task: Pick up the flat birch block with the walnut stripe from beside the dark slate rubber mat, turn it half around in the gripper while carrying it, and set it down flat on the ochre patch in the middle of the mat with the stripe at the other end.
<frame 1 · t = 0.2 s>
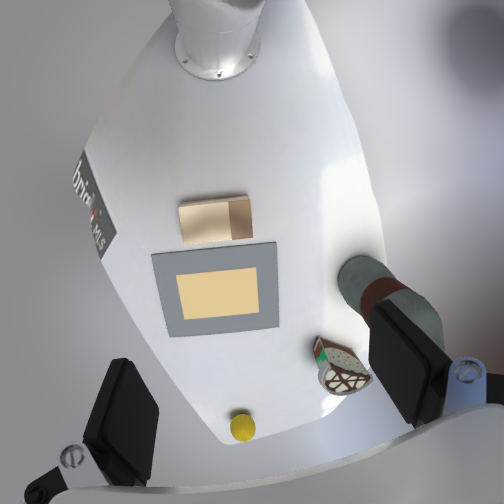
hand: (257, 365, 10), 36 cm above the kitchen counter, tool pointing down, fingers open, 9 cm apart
mat: (218, 293, 49), on the kitchen counter
food container: (326, 352, 56), on the kitchen counter
bottle: (357, 275, 51), on the kitchen counter
birch block: (216, 215, 45), on the kitchen counter
lemon: (241, 413, 60), on the kitchen counter
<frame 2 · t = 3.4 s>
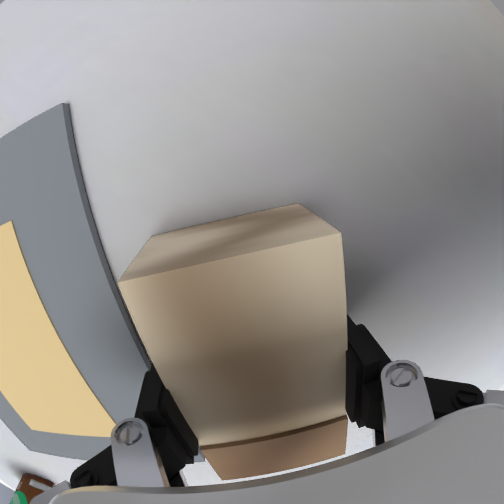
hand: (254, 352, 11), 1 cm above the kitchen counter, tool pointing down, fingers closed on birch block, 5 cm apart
mat: (19, 351, 11), on the kitchen counter
food container: (37, 483, 18), on the kitchen counter
birch block: (251, 333, 12), on the kitchen counter, touching gripper
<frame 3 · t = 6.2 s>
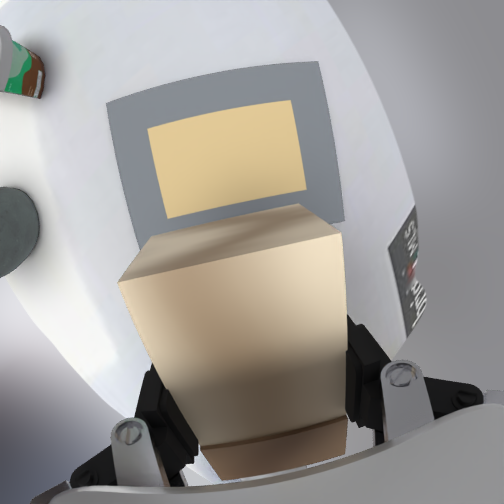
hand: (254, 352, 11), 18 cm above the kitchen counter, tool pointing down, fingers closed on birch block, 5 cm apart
mat: (227, 156, 25), on the kitchen counter
food container: (24, 68, 19), on the kitchen counter
bottle: (15, 222, 24), on the kitchen counter
birch block: (251, 333, 12), point 16 cm above the kitchen counter, touching gripper
when the fingers open (3 cm above the kitchen counter, at t = 9.1 s): birch block drops 1 cm, resting on mat.
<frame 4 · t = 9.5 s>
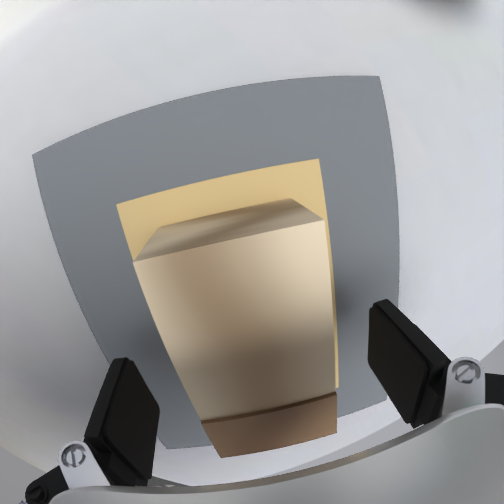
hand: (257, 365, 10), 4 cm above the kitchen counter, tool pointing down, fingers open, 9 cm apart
mat: (246, 312, 14), on the kitchen counter
birch block: (248, 317, 13), point 1 cm above the kitchen counter, touching mat
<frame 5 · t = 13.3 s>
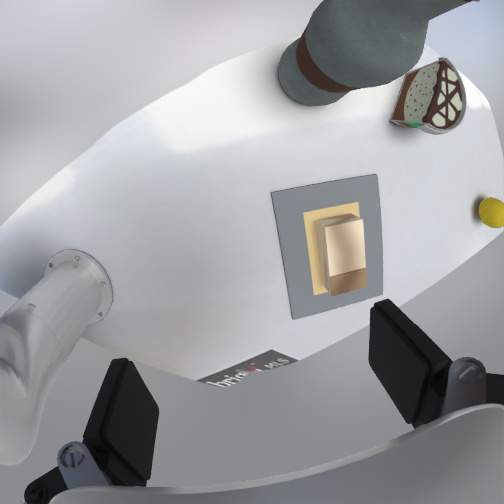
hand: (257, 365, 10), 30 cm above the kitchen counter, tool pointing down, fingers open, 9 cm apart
mat: (334, 248, 42), on the kitchen counter
food container: (411, 107, 36), on the kitchen counter
bottle: (306, 78, 34), on the kitchen counter
birch block: (336, 249, 42), point 1 cm above the kitchen counter, touching mat
lemon: (478, 207, 43), on the kitchen counter
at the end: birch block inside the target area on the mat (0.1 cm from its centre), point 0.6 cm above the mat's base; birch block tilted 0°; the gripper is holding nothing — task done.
